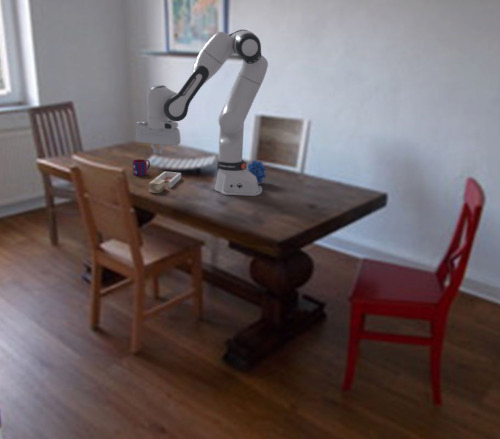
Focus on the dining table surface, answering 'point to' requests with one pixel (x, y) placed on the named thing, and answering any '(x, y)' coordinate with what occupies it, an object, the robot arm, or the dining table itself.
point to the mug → (140, 167)
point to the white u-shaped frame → (170, 177)
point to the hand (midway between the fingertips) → (158, 153)
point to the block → (157, 186)
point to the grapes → (257, 170)
